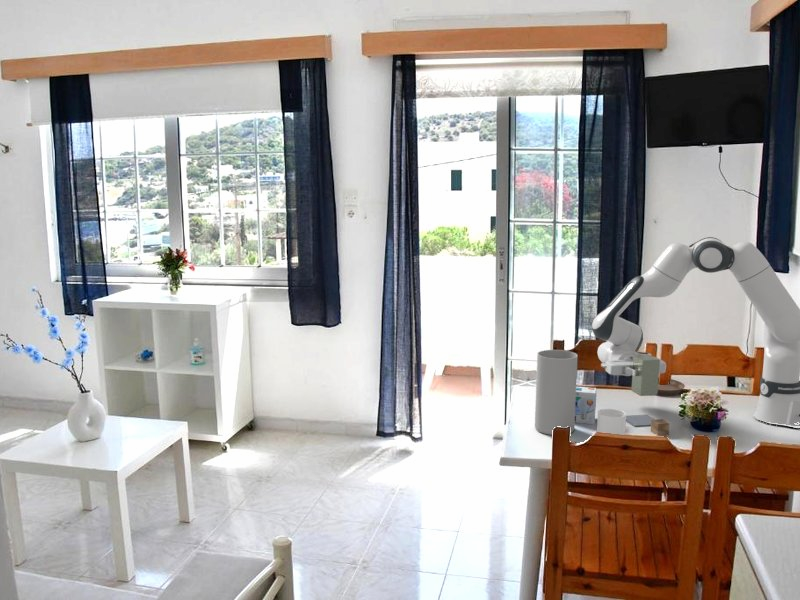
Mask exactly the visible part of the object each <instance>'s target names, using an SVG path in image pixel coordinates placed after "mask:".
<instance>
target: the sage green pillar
mask: <svg viewBox="0 0 800 600" xmlns="http://www.w3.org/2000/svg"><path fill="white" fill-rule="evenodd" d="M651 355H652V354H651ZM651 355H644V356H634V360H633V369H634V370H638V371H639V373H638V374H639V375H638V376H633V375H631V376H632V378H631V390H630V391H631V392H632V393H634V394H636V395H638V396H640V397H648V396H658V395H657V392H658V379H659V377H660V373H659V366H660V360H661V359H660V358H658V357H656V356H651ZM655 357H656V358H655ZM657 358H658V359H657ZM659 359H660V360H659Z"/></svg>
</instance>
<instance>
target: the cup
mask: <svg viewBox="0 0 800 600" xmlns="http://www.w3.org/2000/svg"><path fill="white" fill-rule="evenodd" d="M626 416H627V413H626V412H625V411H623V410H620V409H616V408H602V409H599V410H598V411H597V423H596V425H597V427H596V433H597V432H605V433H613V434H622V435H625V436H626V423H627V422H626Z"/></svg>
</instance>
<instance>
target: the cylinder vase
mask: <svg viewBox="0 0 800 600" xmlns="http://www.w3.org/2000/svg"><path fill="white" fill-rule="evenodd" d="M577 374H578V354H577V353H576V352H574V351H573V352H572V351H569V350H563V349H546V350H540V351H538V352H537V355H536V380H535V381H536V382H535V383H536V384H535V386H536V387H535V407H534V408H535V411H534V414H535V415H534V428H535V429H536V431H537V432H540V433H541V434H545V435H549V436H552V435H551V434H552V430H553V428H554V427H557V426H561V427H567V426H569V427H571V433H570V434H572V433H573V432H574V430H575V424H576V422H575V401H576V386H577V380H578V379H577V378H578V377H577Z"/></svg>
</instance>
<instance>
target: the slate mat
mask: <svg viewBox="0 0 800 600" xmlns="http://www.w3.org/2000/svg"><path fill="white" fill-rule="evenodd" d="M651 420H656V418H654V417H652V416H650V414H646V413H645V414H632V415H630V414H629V415H626V423H628V424H629V425H631V426H632V427H634V428H636V427H637V428H638V427H651Z"/></svg>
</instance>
